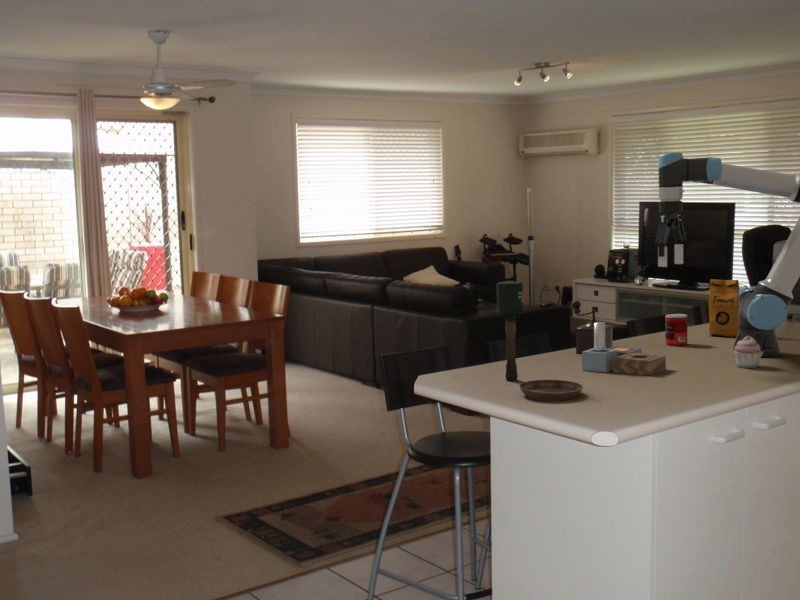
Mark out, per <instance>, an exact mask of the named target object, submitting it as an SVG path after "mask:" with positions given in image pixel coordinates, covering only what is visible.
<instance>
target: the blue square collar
mask: <svg viewBox="0 0 800 600" xmlns="http://www.w3.org/2000/svg"><path fill="white" fill-rule="evenodd" d="M615 357H617V350H613V349H605V352H604V353H603V352H594V348H592V349H589V350H586V351H582V354H581V370H582V371H588V372H596V373H598V372H599V373H608V372H611V371H614V358H615Z"/></svg>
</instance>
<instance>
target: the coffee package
mask: <svg viewBox="0 0 800 600" xmlns="http://www.w3.org/2000/svg"><path fill="white" fill-rule="evenodd" d="M739 289H740V282H739V279H712V278H711V279H710V281H709V297H708V315H709V316H708V320H709V325H708V335H710V336H711V335H712V336H715V337H716V336H717V337H727V338H733V337H734V338H736V337H737V334H738V331H739V298H738V295H739Z"/></svg>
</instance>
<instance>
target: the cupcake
mask: <svg viewBox="0 0 800 600" xmlns="http://www.w3.org/2000/svg"><path fill="white" fill-rule="evenodd" d="M731 352H732V355H733V356H734V359H735V365H736V367H738V368H742V369H757V368H759V366H760V362H761V358H762V357H761V356H762V354H763V352H762V351H760V346H759V344H758V343H757V342H756V341H755V340H754V339H753V338H752V337H750V336H746V337H745V338H743V340H740V341H738V342H737V345H736V346H735V350H734V351H733V350H732V351H731Z"/></svg>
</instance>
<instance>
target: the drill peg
mask: <svg viewBox="0 0 800 600" xmlns="http://www.w3.org/2000/svg"><path fill="white" fill-rule="evenodd" d="M605 324H606V322H604V321H602V322H601V321H599V322H595V323H594V352H603V353H604V352H605Z"/></svg>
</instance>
